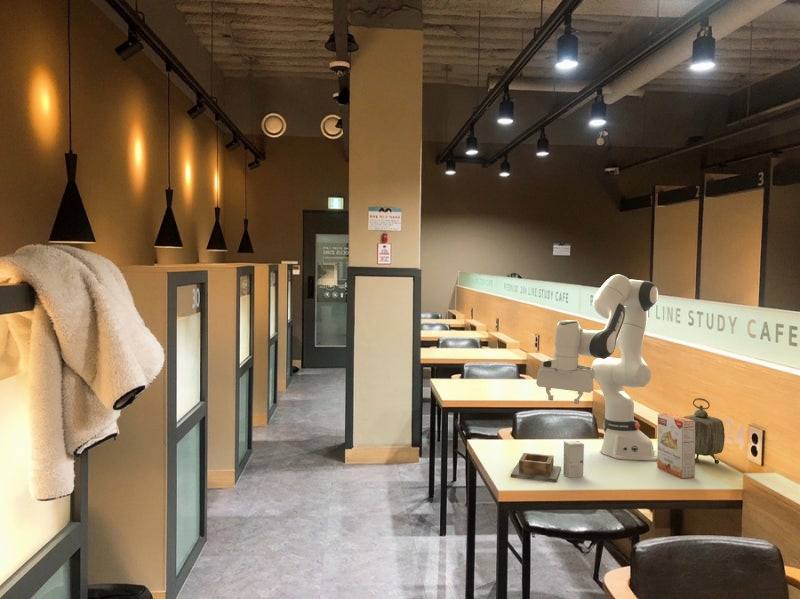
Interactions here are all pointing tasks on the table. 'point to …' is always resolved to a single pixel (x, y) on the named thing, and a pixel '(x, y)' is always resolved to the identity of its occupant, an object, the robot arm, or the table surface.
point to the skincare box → (573, 459)
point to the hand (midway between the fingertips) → (563, 401)
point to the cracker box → (676, 445)
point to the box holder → (536, 467)
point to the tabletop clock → (707, 433)
